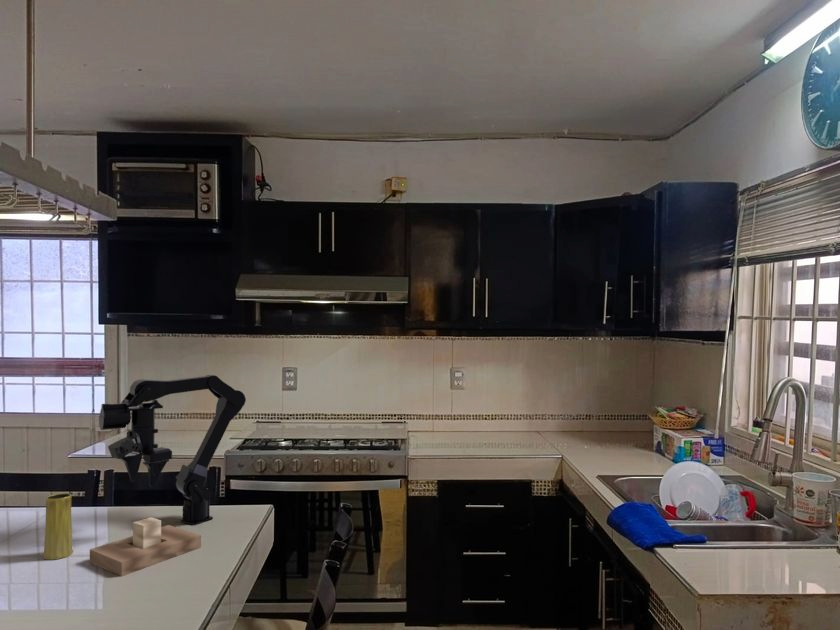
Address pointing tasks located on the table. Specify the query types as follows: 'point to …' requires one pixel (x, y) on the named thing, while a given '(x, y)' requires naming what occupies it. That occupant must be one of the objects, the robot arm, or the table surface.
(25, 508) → the table surface
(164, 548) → the board
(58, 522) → the vase
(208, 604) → the table surface
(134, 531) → the peg
